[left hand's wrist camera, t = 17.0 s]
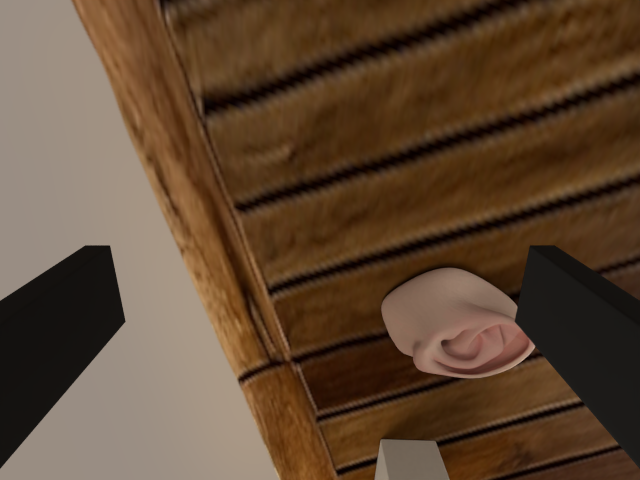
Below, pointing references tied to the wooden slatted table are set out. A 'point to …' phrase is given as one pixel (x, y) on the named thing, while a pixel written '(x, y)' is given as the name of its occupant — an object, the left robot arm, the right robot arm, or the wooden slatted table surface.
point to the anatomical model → (455, 324)
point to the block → (409, 461)
